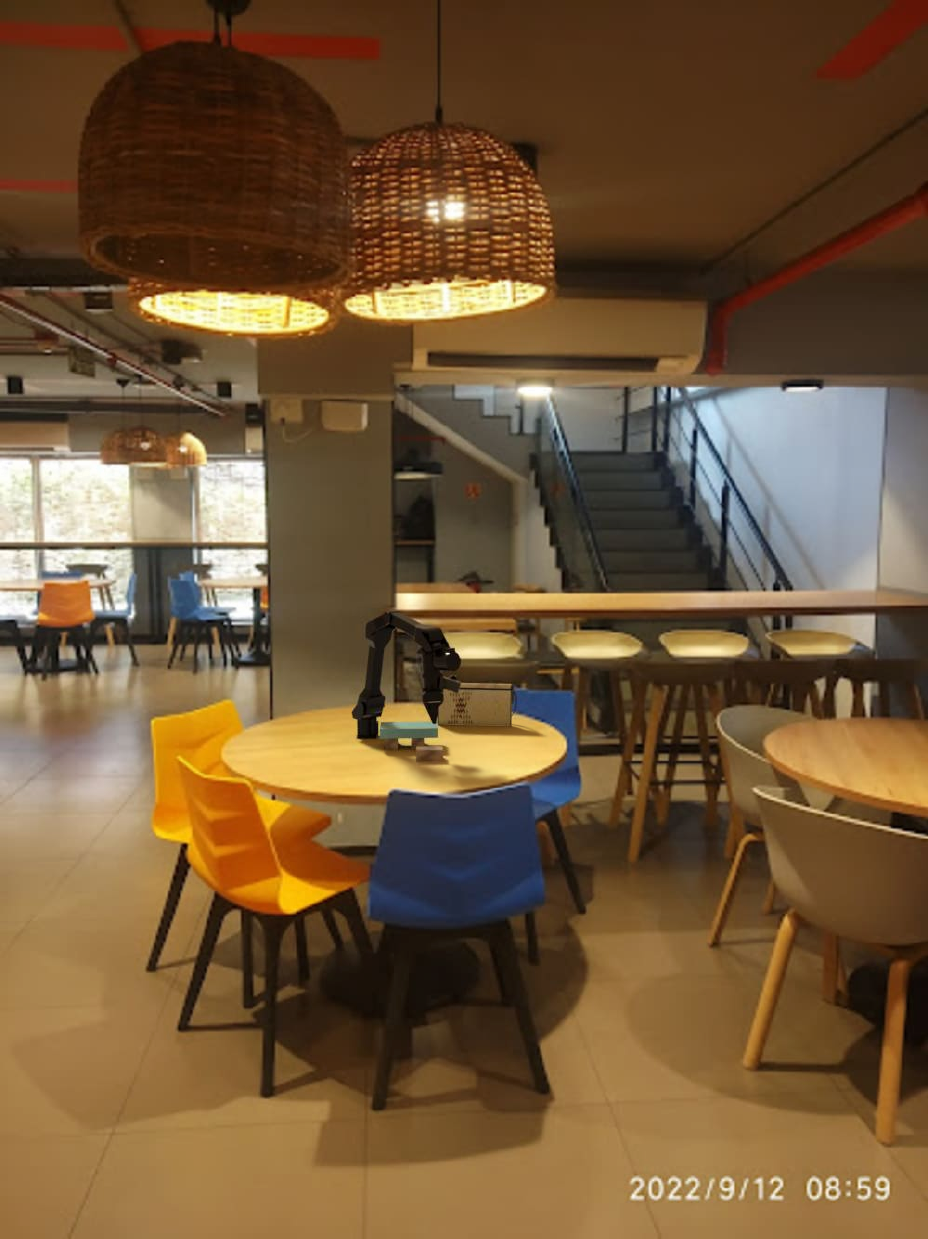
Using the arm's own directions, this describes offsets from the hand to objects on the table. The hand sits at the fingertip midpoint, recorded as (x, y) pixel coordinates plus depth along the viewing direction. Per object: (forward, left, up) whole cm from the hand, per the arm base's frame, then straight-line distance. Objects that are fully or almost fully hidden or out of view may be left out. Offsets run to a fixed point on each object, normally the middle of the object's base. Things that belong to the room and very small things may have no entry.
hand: (434, 721), depth 267 cm
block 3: (-2, -1, -12) cm, 12 cm away
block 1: (-13, +14, -12) cm, 22 cm away
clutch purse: (+15, +42, -12) cm, 46 cm away
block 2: (-5, +14, -12) cm, 19 cm away
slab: (-8, +14, -8) cm, 17 cm away
